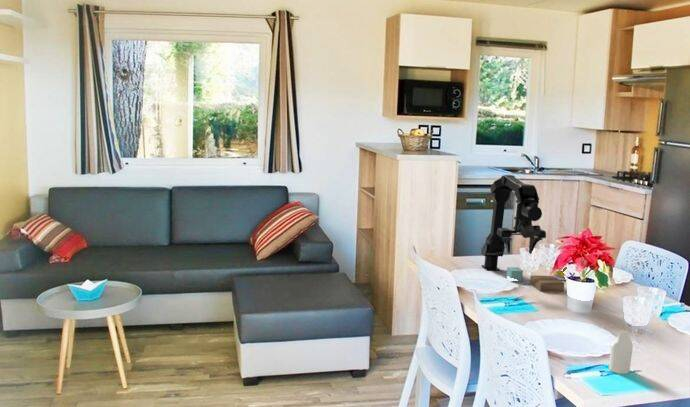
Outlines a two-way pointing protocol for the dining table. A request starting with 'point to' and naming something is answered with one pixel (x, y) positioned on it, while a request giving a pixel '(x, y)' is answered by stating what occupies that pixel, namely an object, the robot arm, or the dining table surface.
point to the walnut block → (547, 283)
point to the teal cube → (515, 273)
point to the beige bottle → (621, 354)
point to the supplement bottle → (560, 274)
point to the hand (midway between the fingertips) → (519, 253)
